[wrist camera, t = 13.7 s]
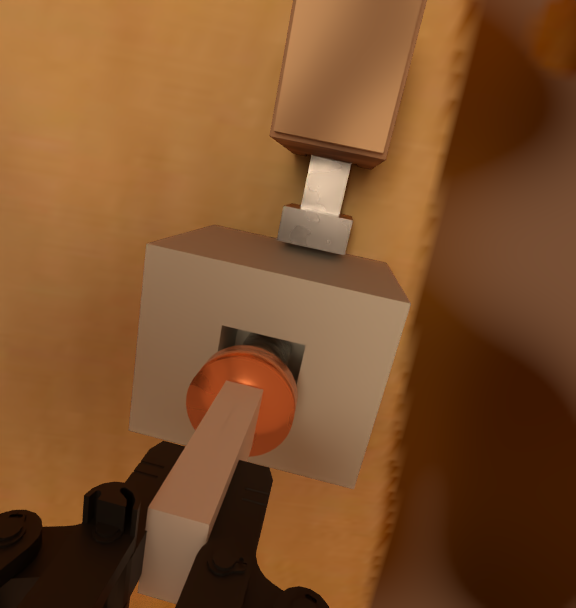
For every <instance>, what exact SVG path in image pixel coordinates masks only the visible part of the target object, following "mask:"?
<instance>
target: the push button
mask: <svg viewBox="0 0 576 608" xmlns="http://www.w3.org/2000/svg"><path fill="white" fill-rule="evenodd" d="M290 354H291V345H290V342H289V341H286V340H282V339H277V338H273V337H269V336H265V335H261V334H257V333H252V332H250V334H249V335H248V336H247V338H246V339H245V341H244V342H243V344H242V345H235V346H231V347H227V348H224V349H222V350H220V351H218V352H217V353H215V354H214V355H212V356H211V357H210V358H209V359H208V360H207V362H206V363H205V364H204V365H203V367H202V368H201V369H200V371H199V372H198V373H197V374H196V376H195V377H194V378H193V380H192V382H191V383H190V385H189V388H188V391H187V396H186V409H187V414H188V417H189V420H190V422H191V424H192V426H193V428H194V429H195V431H196V429H197V427H198V426H199V424H200V422H201V421H202V419H203V418H204V416H205V414H206V413H207V411H208V409H209V408H210V406H211V405H212V403H213V401H214V400H215V398H216V396H217V395H218V393H219V392H220V390H221V388H222V387H223V385H224V383H225V382H226V380H227V381H231V382H235V383H239V384H243V385H247V386H251V387H255V388H259V389H263V395H262V400H261V405H260V409H259V414H258V419H257V424H256V429H255V434H254V439H253V443H252V448H251V451H250V454H249V457H252V456H258V455H262V454H265V453H267V452H270V451H271V450H273V449H275V448H276V447H277V446H279V445H280V444H281V443H282V442H283V441H284V440H285V438H286V437H287V435H288V434H289V432H290V430H291V427H292V424H293V419H294V415H295V410H296V405H297V399H298V392H297V386H296V382H295V379H294V377H293V375H292V373H291V371H290V370H289V368H288V367H287V364H288V361H289V357H290Z"/></svg>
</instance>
